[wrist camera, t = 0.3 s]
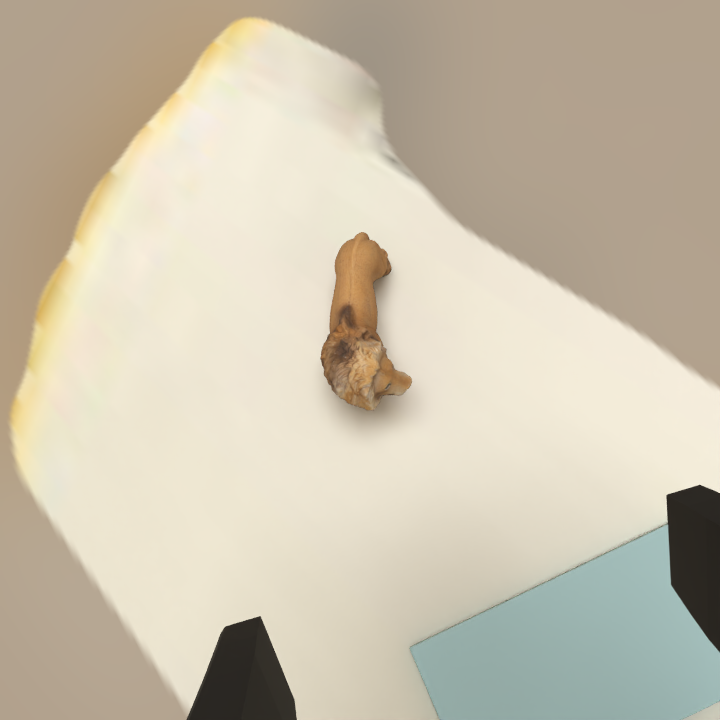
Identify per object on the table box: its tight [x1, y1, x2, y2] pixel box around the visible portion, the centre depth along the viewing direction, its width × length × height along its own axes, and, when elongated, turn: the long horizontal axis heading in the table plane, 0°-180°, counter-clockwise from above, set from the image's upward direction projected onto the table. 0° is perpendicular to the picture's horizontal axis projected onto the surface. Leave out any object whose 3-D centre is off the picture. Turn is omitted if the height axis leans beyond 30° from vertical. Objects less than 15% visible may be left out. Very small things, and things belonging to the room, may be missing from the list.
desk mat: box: [410, 524, 720, 720], centre depth 35 cm, size 9×19×1 cm, turn 114°
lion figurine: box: [321, 232, 412, 410], centre depth 40 cm, size 15×5×9 cm, turn 7°
